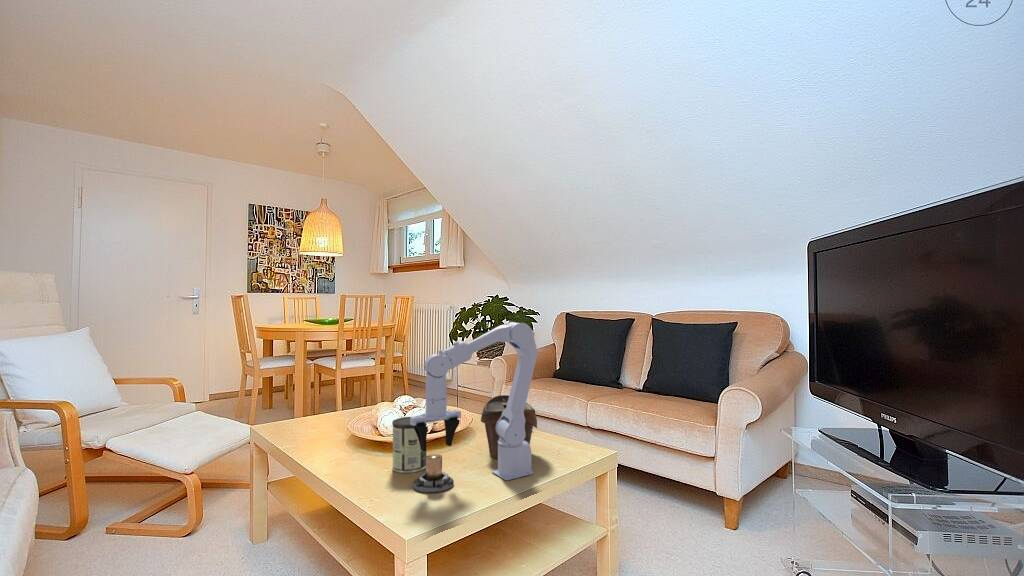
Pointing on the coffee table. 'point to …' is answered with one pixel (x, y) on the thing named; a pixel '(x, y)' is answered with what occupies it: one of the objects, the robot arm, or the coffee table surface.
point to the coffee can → (406, 448)
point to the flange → (433, 484)
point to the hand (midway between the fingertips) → (436, 447)
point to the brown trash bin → (494, 413)
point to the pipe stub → (434, 467)
